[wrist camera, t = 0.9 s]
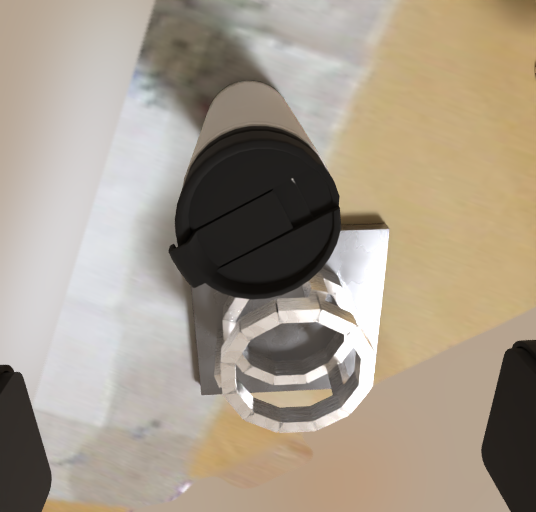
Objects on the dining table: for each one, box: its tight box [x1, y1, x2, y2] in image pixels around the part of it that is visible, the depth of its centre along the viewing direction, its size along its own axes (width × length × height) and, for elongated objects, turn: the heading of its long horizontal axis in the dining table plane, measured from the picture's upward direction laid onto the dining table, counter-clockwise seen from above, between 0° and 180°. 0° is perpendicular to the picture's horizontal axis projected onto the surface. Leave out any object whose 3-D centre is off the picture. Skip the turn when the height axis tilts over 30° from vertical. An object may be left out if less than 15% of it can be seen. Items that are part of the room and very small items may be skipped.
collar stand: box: [191, 223, 389, 433], centre depth 38 cm, size 16×16×9 cm
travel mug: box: [169, 81, 341, 300], centre depth 26 cm, size 6×7×20 cm
